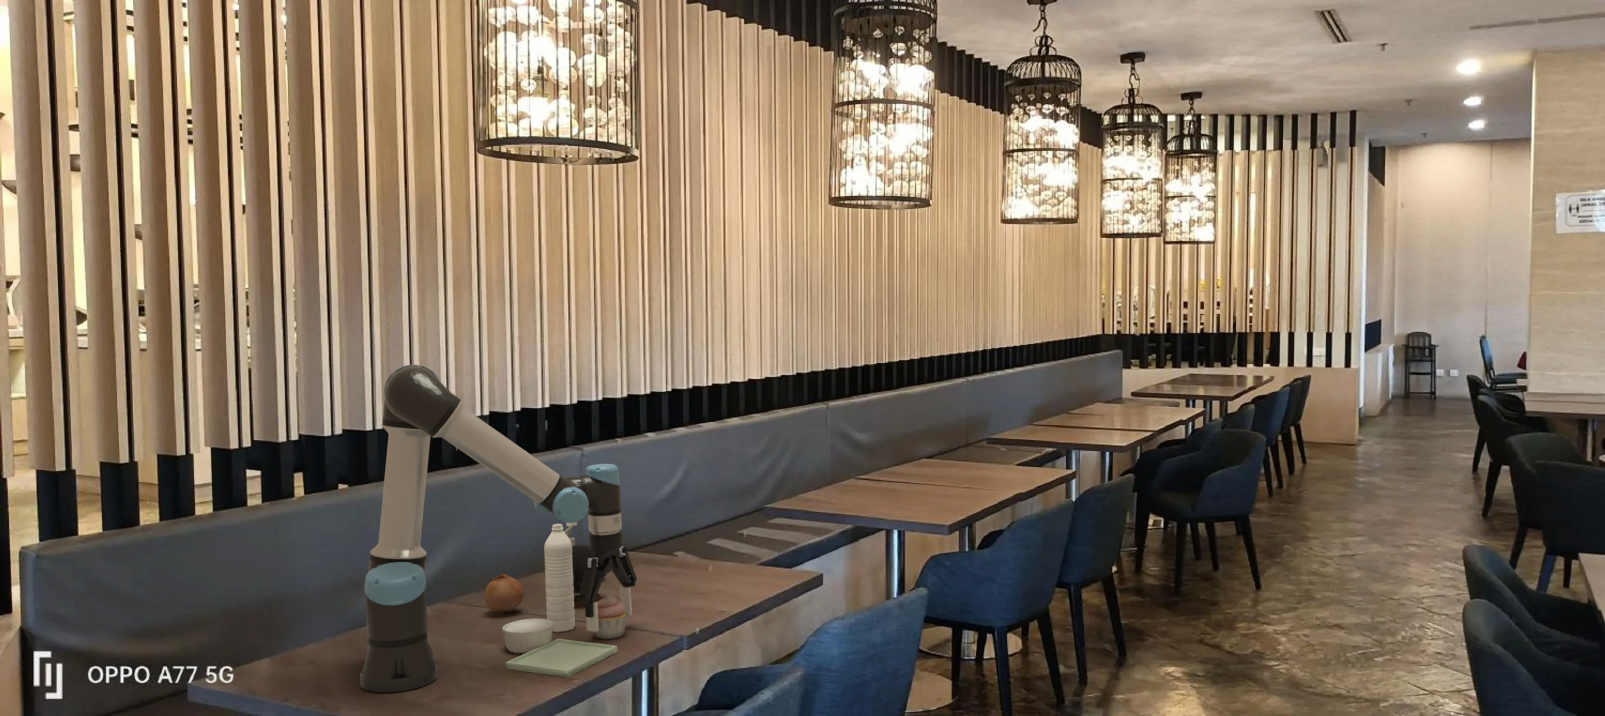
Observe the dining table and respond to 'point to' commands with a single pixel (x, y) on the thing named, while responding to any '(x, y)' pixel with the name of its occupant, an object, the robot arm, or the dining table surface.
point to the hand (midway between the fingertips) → (609, 622)
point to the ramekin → (527, 634)
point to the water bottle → (559, 579)
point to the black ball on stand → (580, 571)
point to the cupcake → (610, 618)
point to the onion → (504, 594)
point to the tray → (561, 657)
